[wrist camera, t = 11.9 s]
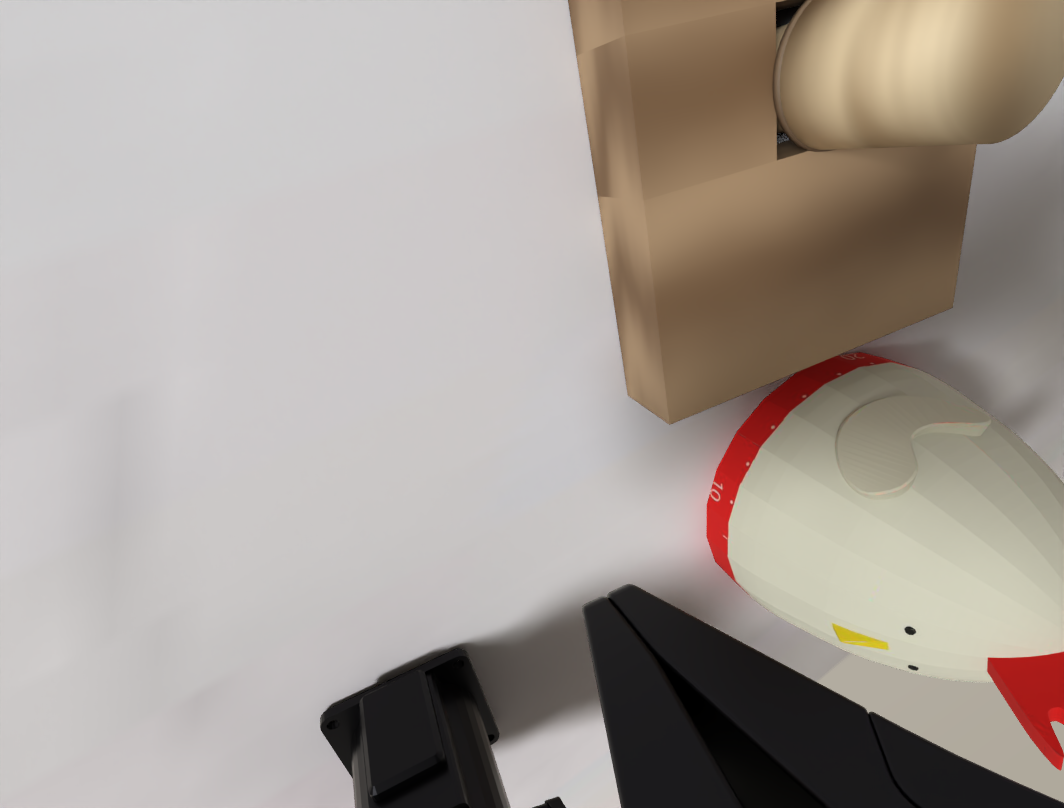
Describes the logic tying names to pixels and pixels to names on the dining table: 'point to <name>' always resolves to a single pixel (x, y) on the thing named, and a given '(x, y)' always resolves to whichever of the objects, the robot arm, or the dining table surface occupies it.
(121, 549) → the dining table surface
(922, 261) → the board
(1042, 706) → the kitchen timer
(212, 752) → the dining table surface
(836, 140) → the peg
